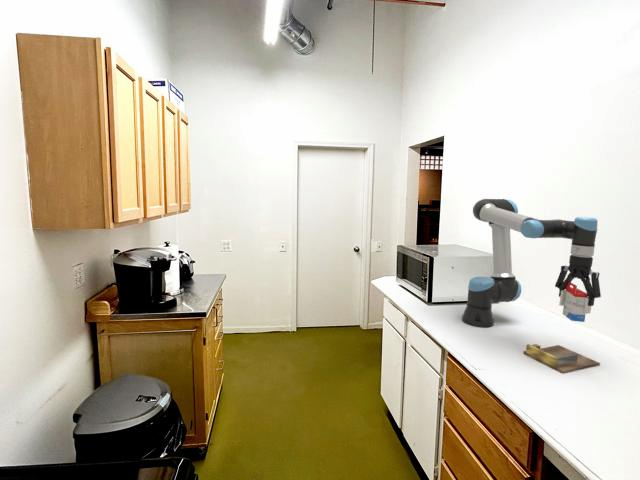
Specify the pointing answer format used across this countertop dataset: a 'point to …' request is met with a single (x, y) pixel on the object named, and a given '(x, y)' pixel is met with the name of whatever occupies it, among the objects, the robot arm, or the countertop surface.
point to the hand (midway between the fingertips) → (574, 309)
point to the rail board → (569, 367)
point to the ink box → (574, 303)
